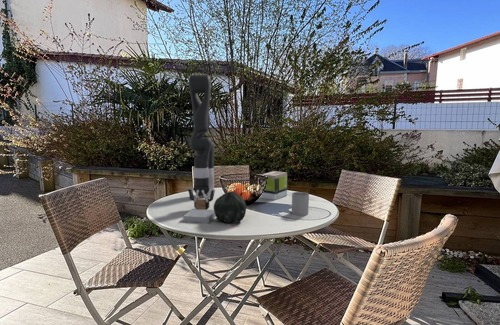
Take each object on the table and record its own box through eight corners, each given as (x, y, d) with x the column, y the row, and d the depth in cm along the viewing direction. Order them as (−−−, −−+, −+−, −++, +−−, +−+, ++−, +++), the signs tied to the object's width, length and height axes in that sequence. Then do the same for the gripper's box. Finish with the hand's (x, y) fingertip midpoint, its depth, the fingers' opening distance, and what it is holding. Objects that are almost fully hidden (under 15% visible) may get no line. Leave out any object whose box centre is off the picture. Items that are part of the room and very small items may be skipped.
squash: (229, 202, 155) (217, 183, 145) (255, 207, 148) (245, 188, 138) (215, 226, 148) (202, 208, 138) (242, 233, 140) (231, 215, 130)
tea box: (273, 193, 200) (274, 170, 198) (287, 195, 194) (288, 172, 192) (260, 197, 188) (260, 173, 186) (274, 200, 182) (275, 175, 180)
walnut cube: (198, 208, 164) (198, 198, 164) (207, 208, 163) (207, 199, 163) (195, 210, 159) (195, 201, 159) (205, 211, 159) (204, 201, 158)
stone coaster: (192, 213, 154) (192, 208, 154) (216, 215, 152) (216, 210, 152) (183, 221, 142) (183, 216, 142) (208, 223, 140) (208, 217, 140)
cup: (297, 216, 151) (298, 196, 150) (288, 212, 159) (288, 192, 157) (311, 214, 155) (312, 194, 154) (301, 210, 163) (302, 191, 161)
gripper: (217, 175, 162) (217, 207, 164) (190, 174, 164) (191, 206, 166) (213, 178, 154) (213, 211, 156) (185, 176, 157) (185, 209, 159)
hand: (201, 208), depth 161 cm, fingers closed on walnut cube, 5 cm apart
